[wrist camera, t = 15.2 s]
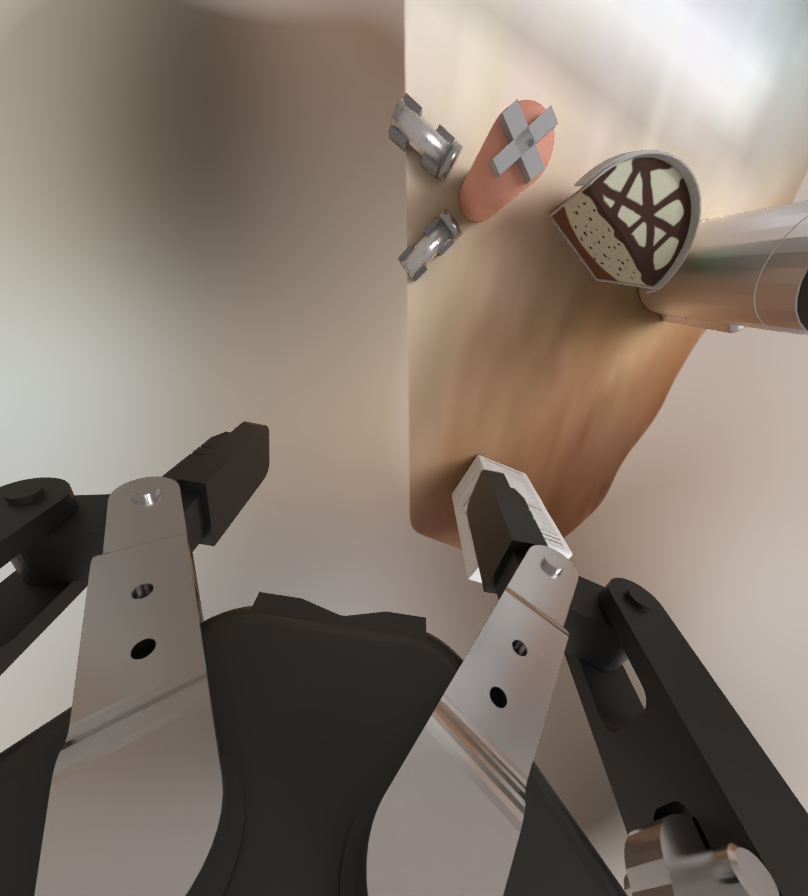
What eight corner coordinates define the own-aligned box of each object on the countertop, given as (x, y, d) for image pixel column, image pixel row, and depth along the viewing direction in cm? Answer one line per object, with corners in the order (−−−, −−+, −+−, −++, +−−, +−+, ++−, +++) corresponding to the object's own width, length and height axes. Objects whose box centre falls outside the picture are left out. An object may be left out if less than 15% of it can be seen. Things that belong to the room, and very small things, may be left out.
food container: (652, 243, 34) (735, 232, 25) (602, 289, 36) (662, 294, 28) (591, 145, 30) (663, 92, 21) (540, 204, 33) (586, 177, 24)
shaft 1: (460, 153, 31) (464, 141, 28) (442, 185, 32) (445, 177, 29) (405, 102, 29) (404, 85, 26) (389, 138, 30) (386, 125, 28)
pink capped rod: (508, 201, 32) (571, 150, 19) (472, 231, 34) (509, 202, 21) (487, 157, 31) (542, 69, 18) (451, 191, 32) (476, 132, 19)
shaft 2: (443, 211, 33) (445, 206, 31) (459, 236, 34) (463, 233, 32) (398, 260, 35) (396, 258, 33) (414, 281, 37) (414, 282, 34)
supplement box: (449, 494, 52) (463, 579, 38) (476, 452, 48) (505, 530, 33) (497, 512, 54) (528, 600, 39) (528, 473, 50) (576, 556, 35)
